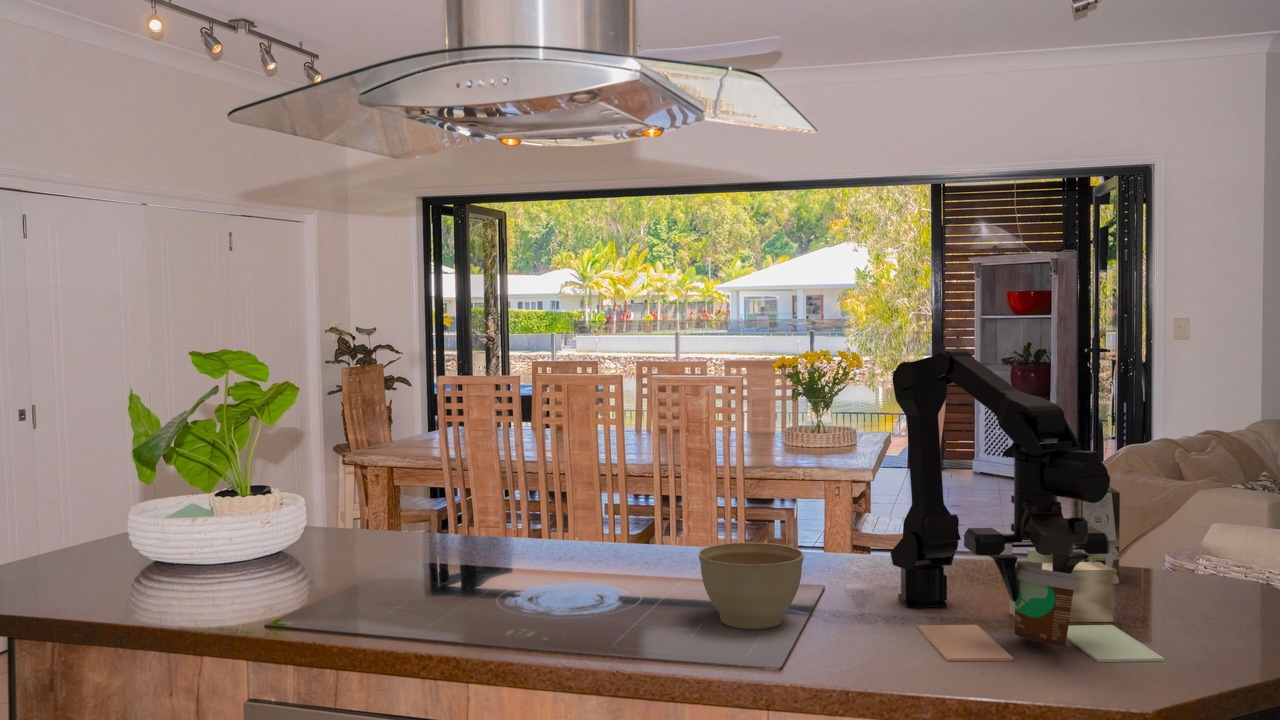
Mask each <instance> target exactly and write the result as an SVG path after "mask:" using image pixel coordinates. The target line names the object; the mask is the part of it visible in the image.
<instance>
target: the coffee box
mask: <svg viewBox="0 0 1280 720" xmlns="http://www.w3.org/2000/svg"><path fill="white" fill-rule="evenodd" d="M1120 500H1121V492H1120V491H1118V490H1116V489H1114V488H1113V487H1111V486H1109V489H1108V492H1107V494H1106V495H1105V497H1104V498H1103V499H1102V500H1101V501H1099V502H1097V503H1089V502H1084V501H1079V500H1074V499H1070V502H1071V503H1070V511H1071V512H1070V516H1071V517H1084V518H1085V519H1086V520H1087V522H1088V527H1093V528H1095V529H1097V530H1099V531H1101V532H1103V533H1105V534H1106V535H1107V536H1108V539H1109V553H1108V554H1088V553H1086V552H1085V554H1086V555H1088V556H1089V558H1088V559H1087V560H1082V561H1080V562H1100V563H1102V564H1104V565H1106V566H1107V567H1109V568H1111V569H1113V570H1114V577H1113V585H1118V584H1120V526H1121V525H1120V520H1121V519H1120V518H1121V517H1120V514H1121V512H1120V511H1121V505H1120V504H1121V501H1120ZM1071 517H1070V518H1071Z"/></svg>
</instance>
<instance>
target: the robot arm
mask: <svg viewBox="0 0 1280 720" xmlns="http://www.w3.org/2000/svg"><path fill="white" fill-rule="evenodd" d="M953 384H955V385H956V386H958V387H959V388H961V389H962V390H963V391H964V392H966V394H968V395H969V396H971V397H972V398H974V400H976V401H977V402H979V403H980V404H981V405H982V406H983V407H985V408H986V409H987V410H989V411H990V412H992V413H993V414H994V415H995V416H996V419H997V424H998V426H999V427H1000V429H1001V430H1002V431H1003V432H1004V433H1005V435H1006V436H1007V437H1008V438H1009V439H1010V440H1011V442H1012V443H1011V445H1009V447H1008V448H1006V449H1005V450H1004V451H1003V452H1002V456H1003V457H1006V458H1012V459H1014V461H1013V463H1014V464H1013V468H1014V469H1013V470H1014V471H1013V473H1014V474H1013V476H1014V477H1013V478H1014V479H1013V484H1014V485H1013V494H1014V495H1013V494H1012V495H1011V496H1010V497H1011V501H1010V502H1011V503H1012V504H1013V523H1010V524H1011V525H1010V527H1011V529H1010V530H1011V532H1013V533H1002V532H1000V531H998V530H996V529H995V528H993V527H968V528H967V529H966V531H965V532H964V534H963V547H964V548H965V549H967V550H969V551H970V552H971V553H972V554H974V555H976V556H988V557H990V558H992V559H993V561H994V564H995V565H996V566H997V568H998V571H999V573H1000V576H1001V578H1002V580H1003V582H1004V583H1003V584H1004V585H1005V586H1004V587H1005V588H1006V591H1007V592H1008V596H1009V600H1010V599H1011V600H1012V601H1013V602H1016V597H1017V586H1016V572H1015V565H1016V563H1017V562H1018V557H1017V556H1016V555H1014V554H1013V548H1034V549H1035V550H1036V551H1037V552H1038V553H1039V554H1041V555H1051V554H1053V571H1055V572H1062V573H1068V574H1071V573H1072V571H1073V569H1074V567H1075V566H1076V565H1077V564H1078V563H1079V562H1080V561H1082V560H1087V559H1088V558H1089V556H1088V555H1086V554H1085V552H1086V553H1088V554H1108V553H1109V539H1108V536H1107V535H1106V534H1105V533H1103V532H1101V531H1099V530H1097V529H1095V528H1093V527H1088V522H1087V520H1086V519H1085V518H1084V517H1069V518H1068V517H1064V514H1063V512H1062V511H1063V510H1062V508H1063V507H1062V502H1061V501H1059V500H1058V497H1061V498H1065V499H1070V500H1071V499H1074V500H1079V501H1084V502H1089V503H1097V502H1099V501H1101V500H1102V499H1103V498H1104V497H1105V495H1106V494H1107V492H1108V489H1109V487H1111V486H1110V483H1111V475H1110V474H1109V471H1108V469H1107V467H1106V465H1105V464H1104V463H1103V462H1101V461H1100V460H1099V454H1100V453H1099V452H1098V451H1095V450H1083V448H1082V446H1081V445H1080V443H1079V440H1078V438H1077V437H1076V435H1075V433H1074V432H1073V430H1072V428H1071V427H1070V424H1069V423H1068V422H1067V420H1066V417H1065V412H1064V410H1063V408H1061V407H1060V406H1059V405H1058V404H1057V403H1054V402H1052V401H1050V400H1047V399H1045V398H1043V397H1040V396H1037V395H1033V394H1030V393H1026V392H1023V391H1021V390H1019V389H1017V388H1015V386H1013V385H1011V384H1010V383H1009V382H1008V381H1006V380H1004V379H1003V378H1002V377H1001V376H1000V375H997V373H995V372H994V371H993V370H991V369H989V368H988V367H987V366H986V365H983V363H981V362H980V361H978V360H976V359H975V358H974V357H973V355H972V353H970V352H969V351H966V350H965V349H961V350H960V349H959V350H958V349H957V350H956V349H955V350H951V349H950V350H941V351H940V352H938V353H936V354H934V355H932V356H928V357H925V358H922V359H918V360H915V361H902V362H900V363H899V365H897V366H896V368H895V370H893V373H892V387H893V391H894V397H895V400H896V403H897V404H898V406H899V407H900V408H901V410H902V412H903V413H904V415H905V417H906V427H907V429H906V430H907V431H906V432H907V443H908V444H907V446H908V461H909V477H910V492H911V506H910V508H909V510H908V512H907V514H906V516H905V518H904V520H903V523H902V524H903V526H902V538H901V539H900V540H899V541H898V542H897V543H896V545H895V546H894V547H893V549H892V550H891V551H890V557H891V562H892V565H893V566H894V567H898V568H900V593H898V594H897V598H898V599H899V600H900V601H901V602H902V603H903V604H904V605H905V606H906V608H947V607H948V603H947V602H946V601H947V600H948V575H946V574H945V571H944V570H945V569H944V568H945V567H944V566H952V565H953V560H954V558H955V554H956V551H958V548H959V541H961V539H962V538H961V535H960V530H959V521H960V520H959V517H958V515H957V514H952V513H951V512H950V511H949V509H948V507H946V505H945V501H944V487H943V473H942V471H943V469H942V458H941V457H942V454H941V439H940V425H939V423H940V422H939V414H940V412H941V410H942V408H943V406H944V404H945V402H946V400H947V395H948V386H950V385H953Z"/></svg>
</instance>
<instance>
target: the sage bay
mask: <svg viewBox="0 0 1280 720" xmlns="http://www.w3.org/2000/svg"><path fill="white" fill-rule="evenodd" d="M1066 641H1069V642H1070V643H1071V644H1073V645H1074V646H1075V647H1076V648H1077V649H1080V651H1082V652H1083V653H1084V654H1086V655H1088V657H1090V658H1092V659H1093V660H1094V661H1095V662H1097V663H1116V662H1117V663H1119V662H1122V663H1123V662H1124V663H1125V662H1128V663H1129V662H1132V663H1133V662H1136V663H1137V662H1165V658H1164V657H1163V656H1161V655H1160V654H1158V653H1157V652H1155V651H1153V650H1152V649H1150V648H1149V647H1147V646H1146V645H1144V644H1143V643H1141V642H1140V641H1138V640H1136V639H1135V638H1133V637H1132V636H1130V635H1128V634H1127V633H1126V632H1124V631H1122V630H1121V629H1120V628H1118V627H1116V626H1115V625H1113V624H1100V625H1099V624H1095V625H1094V624H1093V625H1091V624H1090V625H1088V624H1085V625H1082V624H1081V625H1080V624H1079V625H1074V624H1073V625H1069V626H1068V632H1067V639H1066Z"/></svg>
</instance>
